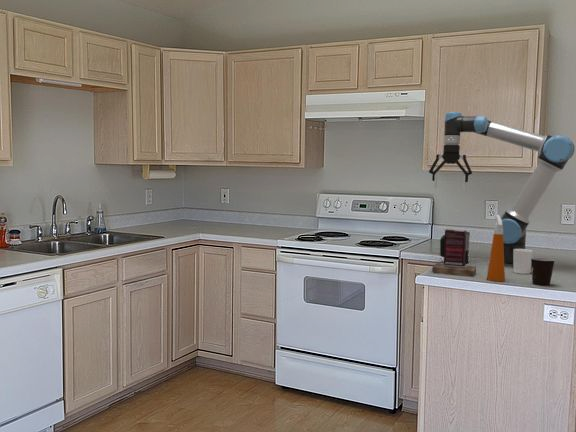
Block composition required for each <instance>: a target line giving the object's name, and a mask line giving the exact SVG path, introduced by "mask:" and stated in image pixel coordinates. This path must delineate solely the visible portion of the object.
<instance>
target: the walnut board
mask: <svg viewBox="0 0 576 432" xmlns="http://www.w3.org/2000/svg"><path fill="white" fill-rule="evenodd" d="M432 272H435V273H434V274H439V273H442V275H450V276H461V277H471V278H472V277H473V278H474V277H475V275H476V272H477V266H475V265H467V264H465V267H464V268H456V267H445V266H444V262H441V263H440V262H439V263H438V262H436V263H435V264H433V266H432V271H431V273H432Z"/></svg>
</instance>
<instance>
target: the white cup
mask: <svg viewBox="0 0 576 432" xmlns="http://www.w3.org/2000/svg"><path fill="white" fill-rule="evenodd" d="M533 253H534V252H533V250H532V249H527V248H526V249H513V263H512V264H513V273H516V274H521V275H529V274H531V270H532V265H531V258H533Z"/></svg>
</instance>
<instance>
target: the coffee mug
mask: <svg viewBox="0 0 576 432" xmlns="http://www.w3.org/2000/svg"><path fill="white" fill-rule="evenodd" d="M554 265H555V259H554V258H549V257H540V256H539V257H534V256H532V258H531V278H532V279H531V280H532V285H535V286H536V285H537V286H542V287H543V286H545V287H546V286H548V287H549V286H550V285H551V282H552V281H551V280H552V275H553V270H554Z"/></svg>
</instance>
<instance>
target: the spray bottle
mask: <svg viewBox="0 0 576 432" xmlns="http://www.w3.org/2000/svg"><path fill="white" fill-rule="evenodd" d="M505 274H506V272H505V262H504V245H503V225H502V220H501V217H500V214H495V225H494V229H493V237H492V243H491V250H490V258H489V261H488V267H487V274H486V280H488V281H490V282H491V281H492V282H497V281H499V282H500V281H501V282H505V281H506V275H505Z"/></svg>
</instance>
